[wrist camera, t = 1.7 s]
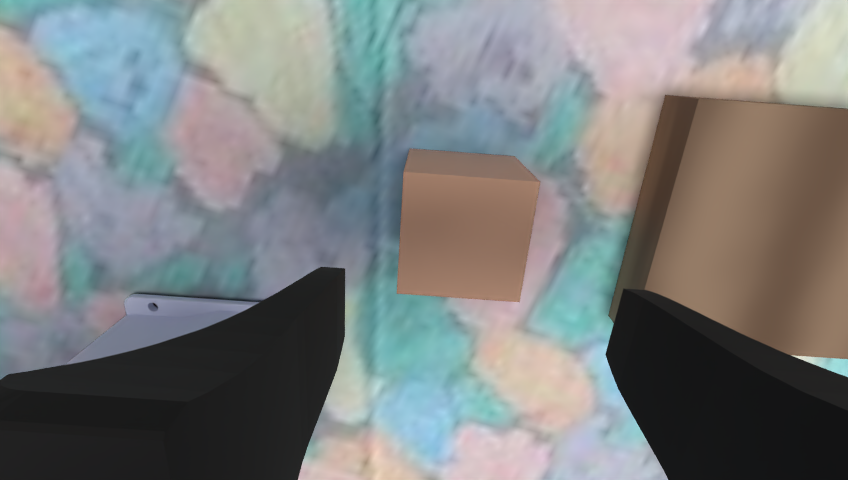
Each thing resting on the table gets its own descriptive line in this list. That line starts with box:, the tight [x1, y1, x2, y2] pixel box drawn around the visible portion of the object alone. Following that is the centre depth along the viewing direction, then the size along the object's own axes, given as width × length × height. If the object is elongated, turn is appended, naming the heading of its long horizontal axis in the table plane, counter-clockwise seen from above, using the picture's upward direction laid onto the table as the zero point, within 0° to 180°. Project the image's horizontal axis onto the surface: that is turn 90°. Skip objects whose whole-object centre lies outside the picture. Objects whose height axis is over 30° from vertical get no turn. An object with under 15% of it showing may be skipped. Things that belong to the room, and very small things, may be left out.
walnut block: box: [608, 95, 848, 359], centre depth 20 cm, size 11×11×3 cm
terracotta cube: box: [397, 148, 540, 302], centre depth 18 cm, size 5×5×5 cm
